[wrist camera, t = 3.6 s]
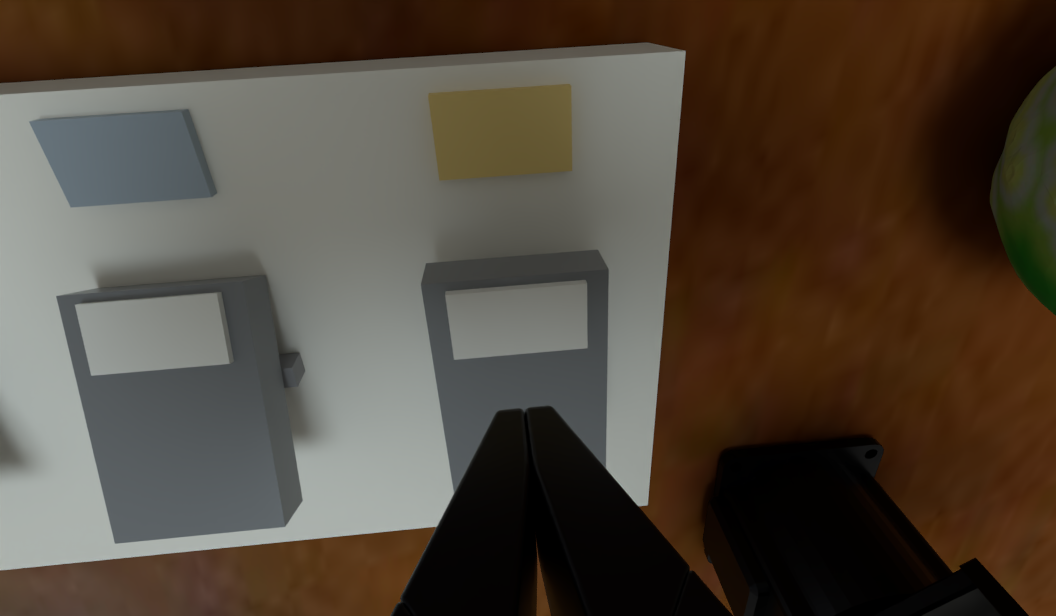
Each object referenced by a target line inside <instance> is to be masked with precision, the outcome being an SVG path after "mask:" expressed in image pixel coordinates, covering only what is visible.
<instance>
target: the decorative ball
mask: <svg viewBox="0 0 1056 616" xmlns="http://www.w3.org/2000/svg"><path fill="white" fill-rule="evenodd" d="M990 205H991V208H992V212H993V215H994V218H995V221H996V225H997V228H998V231H999V234H1000V237H1001V240H1002V243H1003V245H1004V248H1005V251H1006V253H1007V256H1008V258H1009V260H1010V262H1011V264H1012V266H1013V268H1014V270H1015V272H1016V274H1017V276H1018V277H1019V278H1020V279H1021V281H1022V282H1023V283H1024V285H1025V286H1026V287H1027V289H1028V290H1029V291H1030V292H1031V293H1032V294H1033V295H1034V296H1035V297H1036V298H1037V299H1038V300H1039V301H1040V302H1041V303H1042V304H1043V305H1044V306H1045V307H1047V308H1048V309H1049V310H1050V311H1051V312H1052V313H1053V314H1054V315H1056V66H1055V67H1054V68H1053V69H1052V70H1050V71H1049V72H1048V73H1047V74H1046V75H1045V76H1044V77H1043V78H1042V79H1041V80H1040V81H1039V82H1038V83H1037V84H1036V86H1035V87H1034V88H1033V89H1032V91H1031V92H1030V93H1029V95H1028V96H1027V97H1026V99H1025V100H1024V102H1023V103H1022V105H1021V106H1020V108H1019V109H1018V111H1017V113H1016V114H1015V116H1014V118H1013V120H1012V122H1011V124H1010V126H1009V130H1008V134H1007V138H1006V142H1005V146H1004V150H1003V152H1002V155H1001V157H1000V159H999V162H998V164H997V166H996V168H995V171H994V174H993V178H992V184H991V191H990Z"/></svg>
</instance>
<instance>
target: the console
mask: <svg viewBox="0 0 1056 616" xmlns="http://www.w3.org/2000/svg"><path fill="white" fill-rule="evenodd" d="M685 55H686V51H684V50H679V49H675V48H670V47H666V46H661V45H657V44H652V43H648V42H647V43H631V44H615V45H599V46H584V47H568V48H552V49H536V50H520V51H504V52H488V53H473V54H457V55H441V56H425V57H409V58H393V59H377V60H362V61H346V62H330V63H314V64H298V65H282V66H266V67H251V68H235V69H219V70H203V71H187V72H171V73H155V74H140V75H124V76H108V77H92V78H76V79H60V80H44V81H29V82H13V83H0V570H8V569H18V568H28V567H38V566H48V565H58V564H68V563H78V562H88V561H98V560H108V559H118V558H128V557H138V556H148V555H158V554H168V553H178V552H188V551H198V550H208V549H217V548H227V547H237V546H247V545H257V544H267V543H277V542H287V541H297V540H307V539H317V538H327V537H337V536H347V535H357V534H367V533H377V532H387V531H397V530H407V529H417V528H427V527H437V525H438V523H439V522H440V520H441V518H442V516H443V514H444V512H445V510H446V508H447V506H448V504H449V502H450V500H451V498H452V496H453V494H454V490H453V484H452V478H451V471H450V465H449V459H448V453H447V446H446V440H445V434H444V428H443V421H442V415H441V409H440V402H439V396H438V390H437V384H436V377H435V371H434V365H433V359H432V352H431V346H430V340H429V334H428V327H427V321H426V315H425V308H424V302H423V296H422V290H421V281H422V277H423V273H424V269H425V265H426V263H435V262H447V261H460V260H473V259H485V258H498V257H510V256H523V255H535V254H548V253H561V252H573V251H586V250H598V251H599V252H600V254H601V256H602V258H603V260H604V262H605V263H606V265H607V267H608V269H609V285H608V357H607V429H606V469H607V470H608V472H609V473H610V474H611V475H612V476H613V477H614V479H615V480H616V481H617V482H618V483H619V484H620V486H621V487H622V488H623V489H624V490H625V491H626V493H627V494H628V495H629V496H630V497H631V498H632V500H633V501H634V502H635V503H636V504H637V505H638V506H646V505H648V496H649V484H650V472H651V460H652V448H653V436H654V424H655V412H656V400H657V388H658V376H659V365H660V353H661V341H662V329H663V317H664V305H665V293H666V281H667V269H668V257H669V245H670V233H671V222H672V210H673V198H674V186H675V174H676V162H677V150H678V138H679V126H680V114H681V102H682V90H683V79H684V67H685ZM257 275H266V280H267V286H268V292H269V298H270V304H271V310H272V316H273V322H274V328H275V335H276V341H277V347H278V353H279V359H280V365H281V371H282V377H283V383H284V389H285V395H286V401H287V408H288V414H289V420H290V426H291V432H292V438H293V444H294V450H295V456H296V462H297V468H298V475H299V481H300V487H301V493H302V499H303V501H302V503H301V504H300V506H299V507H298V509H297V510H296V512H295V513H294V515H293V516H292V518H291V519H290V521H289V522H288V524H287V525H286V527H279V528H269V529H259V530H249V531H239V532H229V533H219V534H209V535H199V536H189V537H179V538H169V539H159V540H149V541H138V542H128V543H118V544H115V542H114V538H113V533H112V529H111V525H110V521H109V517H108V512H107V508H106V504H105V500H104V496H103V491H102V487H101V483H100V479H99V475H98V470H97V466H96V462H95V458H94V454H93V449H92V445H91V441H90V437H89V432H88V428H87V424H86V420H85V416H84V411H83V407H82V403H81V399H80V395H79V390H78V386H77V382H76V378H75V374H74V369H73V365H72V361H71V357H70V352H69V348H68V344H67V340H66V336H65V331H64V327H63V323H62V319H61V315H60V310H59V306H58V302H57V298H56V296H59V295H64V294H69V293H74V292H79V291H85V290H90V289H95V288H105V287H118V286H131V285H143V284H156V283H168V282H181V281H194V280H206V279H219V278H231V277H244V276H257Z"/></svg>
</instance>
